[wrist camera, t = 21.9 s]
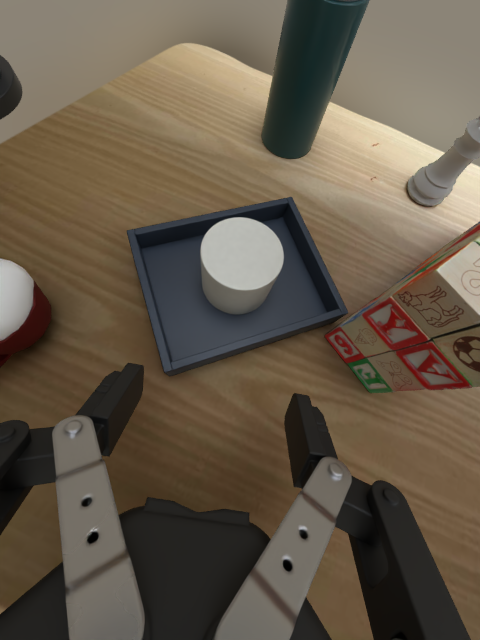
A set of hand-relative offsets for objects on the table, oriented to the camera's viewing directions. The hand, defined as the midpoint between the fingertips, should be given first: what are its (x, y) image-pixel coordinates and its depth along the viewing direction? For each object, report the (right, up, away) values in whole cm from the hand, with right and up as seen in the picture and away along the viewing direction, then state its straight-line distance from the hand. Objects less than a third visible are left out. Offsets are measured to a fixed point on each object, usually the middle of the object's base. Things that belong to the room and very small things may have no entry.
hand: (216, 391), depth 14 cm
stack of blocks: (+19, +5, +12) cm, 23 cm away
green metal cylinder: (+7, +25, +17) cm, 31 cm away
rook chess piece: (+22, +19, +17) cm, 33 cm away
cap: (+1, +7, +9) cm, 12 cm away
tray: (+1, +7, +10) cm, 12 cm away
